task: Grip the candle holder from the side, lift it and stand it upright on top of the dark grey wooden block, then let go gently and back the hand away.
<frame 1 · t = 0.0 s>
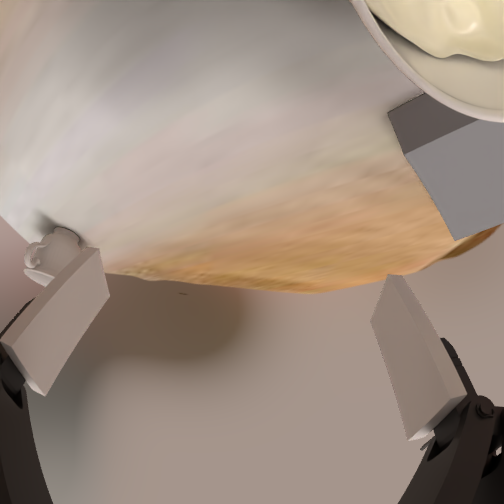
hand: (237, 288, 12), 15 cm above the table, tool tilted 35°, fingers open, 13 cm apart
riser block: (486, 138, 17), on the table
teacup: (63, 229, 43), on the table
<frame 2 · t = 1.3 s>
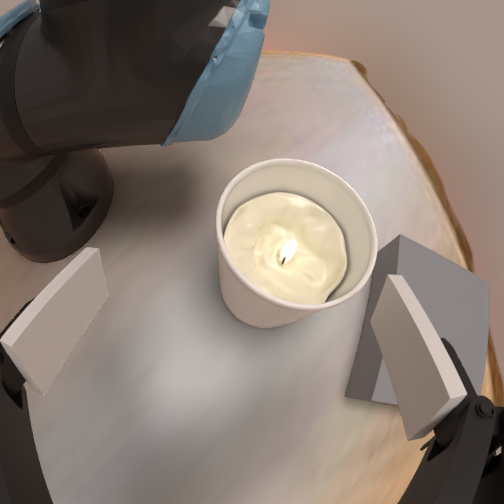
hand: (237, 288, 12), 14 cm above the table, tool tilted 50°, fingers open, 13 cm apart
riser block: (419, 338, 26), on the table
candle holder: (264, 285, 27), on the table
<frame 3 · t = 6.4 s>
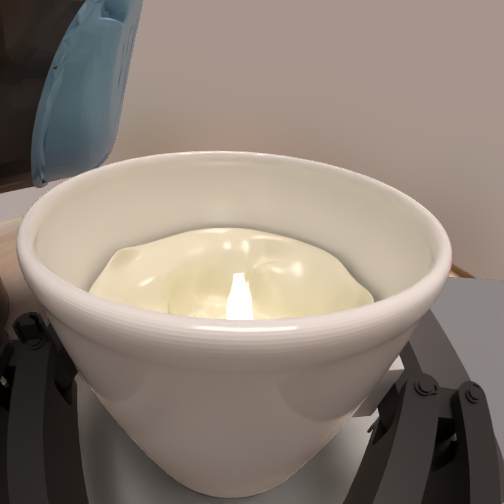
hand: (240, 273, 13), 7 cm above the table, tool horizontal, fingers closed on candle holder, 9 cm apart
riser block: (494, 393, 12), on the table
candle holder: (228, 428, 12), on the table, touching gripper
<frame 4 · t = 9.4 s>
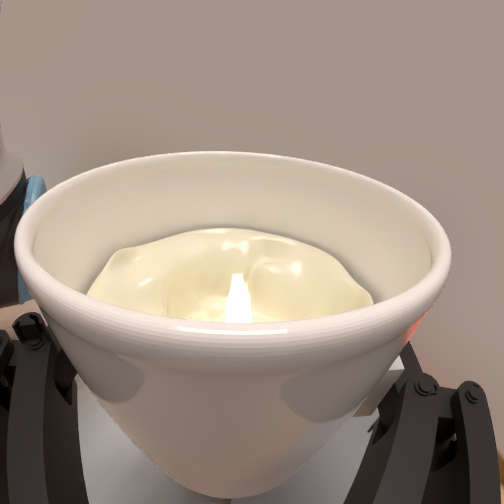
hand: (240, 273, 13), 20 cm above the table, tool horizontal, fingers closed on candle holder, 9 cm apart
riser block: (317, 461, 20), on the table
candle holder: (228, 429, 12), point 13 cm above the table, touching gripper
when the fingers open (12 cm above the table, at t = 12.6 s): candle holder moves 2 cm, resting on riser block.
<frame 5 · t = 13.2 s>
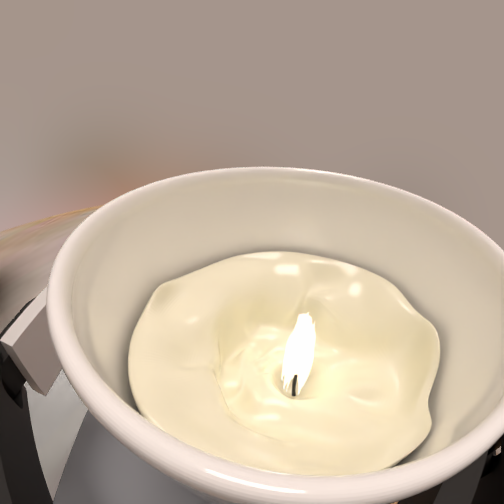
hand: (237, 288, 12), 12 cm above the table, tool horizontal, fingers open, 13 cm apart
riser block: (227, 457, 15), on the table
candle holder: (270, 452, 11), point 5 cm above the table, touching gripper, riser block
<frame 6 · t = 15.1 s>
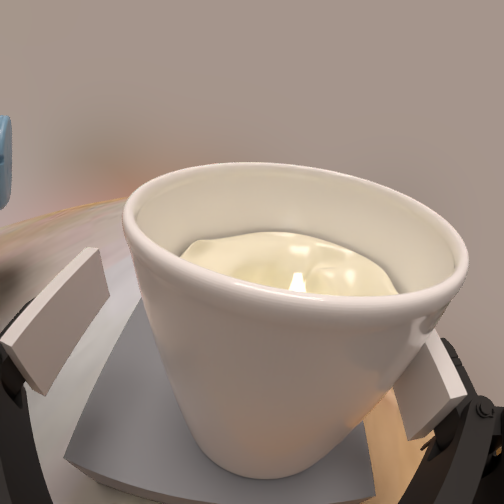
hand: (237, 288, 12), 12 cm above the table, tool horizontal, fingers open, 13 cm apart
riser block: (227, 415, 18), on the table
candle holder: (264, 415, 14), point 5 cm above the table, touching gripper, riser block
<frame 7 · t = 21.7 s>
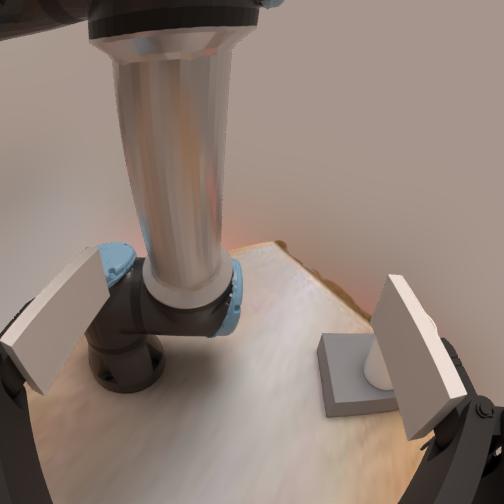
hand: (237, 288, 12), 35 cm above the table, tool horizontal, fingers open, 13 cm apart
riser block: (360, 379, 46), on the table
candle holder: (383, 373, 42), point 5 cm above the table, touching riser block
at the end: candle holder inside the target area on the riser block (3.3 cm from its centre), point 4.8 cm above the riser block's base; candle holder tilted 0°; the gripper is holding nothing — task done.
